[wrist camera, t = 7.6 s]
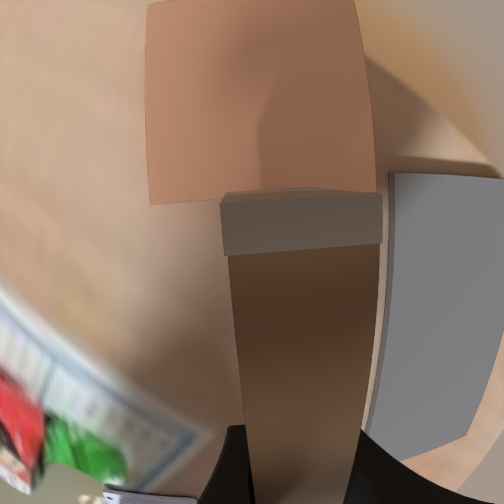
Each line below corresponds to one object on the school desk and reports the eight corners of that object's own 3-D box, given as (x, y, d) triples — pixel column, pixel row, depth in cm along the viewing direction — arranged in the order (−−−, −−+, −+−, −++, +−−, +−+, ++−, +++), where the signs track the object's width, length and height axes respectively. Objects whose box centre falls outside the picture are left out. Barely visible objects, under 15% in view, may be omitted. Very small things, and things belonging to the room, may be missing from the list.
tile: (376, 192, 12) (354, 0, 10) (150, 205, 12) (147, 3, 10) (357, 190, 14) (339, 19, 12) (162, 201, 14) (157, 24, 12)
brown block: (305, 487, 13) (324, 561, 8) (256, 493, 13) (264, 570, 8) (310, 187, 10) (381, 195, 5) (226, 192, 10) (220, 204, 5)
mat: (462, 431, 19) (465, 435, 18) (356, 467, 18) (358, 472, 18) (515, 180, 14) (521, 181, 13) (388, 172, 14) (394, 172, 13)
